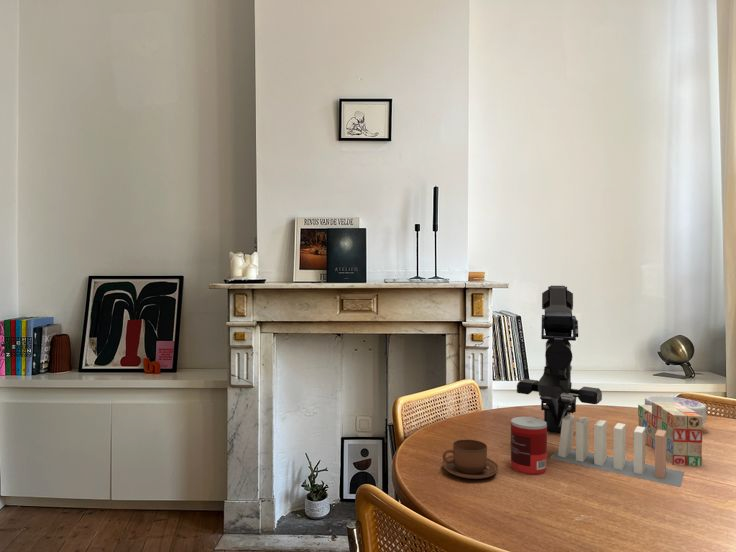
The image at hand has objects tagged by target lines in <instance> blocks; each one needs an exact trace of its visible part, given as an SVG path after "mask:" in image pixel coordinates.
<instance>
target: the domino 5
mask: <svg viewBox="0 0 736 552" xmlns="http://www.w3.org/2000/svg"><path fill="white" fill-rule="evenodd" d="M633 462H634V473H637V474H643V472H644V469H645V464H646V444H645V427H640V426H639V425H637V426H636V428H635V429H634V431H633Z"/></svg>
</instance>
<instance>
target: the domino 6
mask: <svg viewBox="0 0 736 552" xmlns="http://www.w3.org/2000/svg"><path fill="white" fill-rule="evenodd" d="M654 466H655V477H656V478H661V479H664V477H665V474H666V468H667V459H666V431H664V430H657V432H656V434H655V449H654Z"/></svg>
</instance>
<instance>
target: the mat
mask: <svg viewBox="0 0 736 552" xmlns="http://www.w3.org/2000/svg"><path fill="white" fill-rule="evenodd" d="M558 452H559V449H558V450H557V451H556V452H555V453H553V455H552V456H550V458H549V459H550V460H555V461H559V462H560V461H561V462H564V463H568V464H571V465H572V464H574V465H579V466H582V467H585V468H586V467H587V468H591V469H596V470H600V471H605V472H610V473H615V474H619V475H623V476H627V477H632V478H637V479H642V480H645V481H646V480H647V481H651V482H655V483H659V484H664V485H669V486H673V487H678V488H682V484H683V479H684V475H685V471H681V470H677V469H673V468H667V467H666V474H665V477H664V479H661V478H656V477H655V465H652V464H647V463H645V469H644V472H643V474H637V473H634V460H627V459H625V465H624V467H623V468H622V470H619V469H614V456H609V455H606V461H605V462H604V464H603V465H602V466H600V465H596V464H594V452H589V451H588V457H587V458H586V459H585V460H584V461H583V462H582V461H577V460H576V449H573V448H571V452H570V453H569V454H568V455H567V456H566V457H565V458H564V457H561V456H558Z"/></svg>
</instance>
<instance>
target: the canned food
mask: <svg viewBox="0 0 736 552" xmlns="http://www.w3.org/2000/svg"><path fill="white" fill-rule="evenodd" d="M547 456H548V432H547V423H546V422H545V421H544V419H541V418H537V417H533V416H516V417H513V418H511V420H510V467H511V469H512V470H514V471H515V472H517V473H519V474H524V475H531V476H536V475H542V474H545V473H546V471H547V467H548V466H547V464H548V461H547V459H548V457H547Z"/></svg>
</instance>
